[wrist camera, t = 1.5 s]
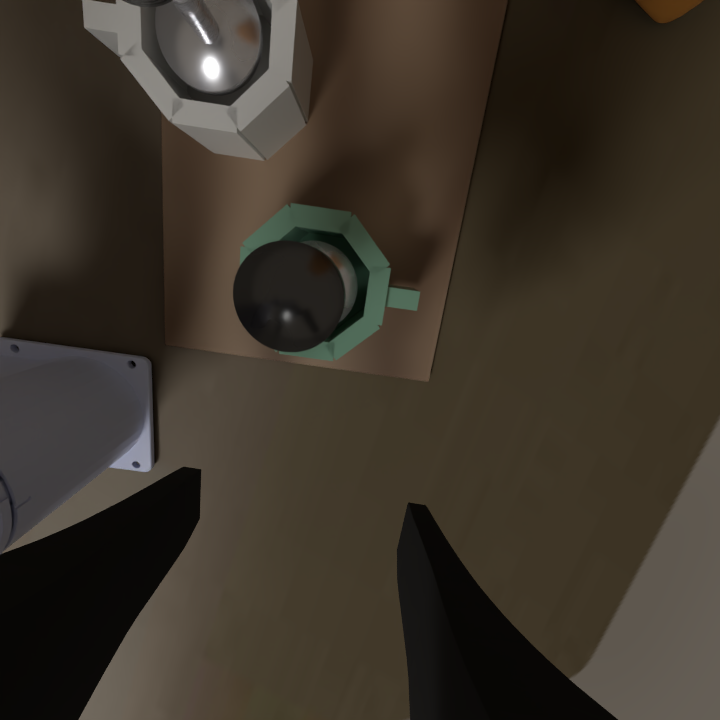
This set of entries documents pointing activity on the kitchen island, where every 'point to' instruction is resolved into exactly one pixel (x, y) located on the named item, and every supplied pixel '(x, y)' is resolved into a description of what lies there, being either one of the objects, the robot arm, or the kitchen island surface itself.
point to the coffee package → (667, 8)
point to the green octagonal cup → (364, 259)
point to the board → (345, 173)
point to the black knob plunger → (294, 293)
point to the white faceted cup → (229, 112)
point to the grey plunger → (209, 41)
